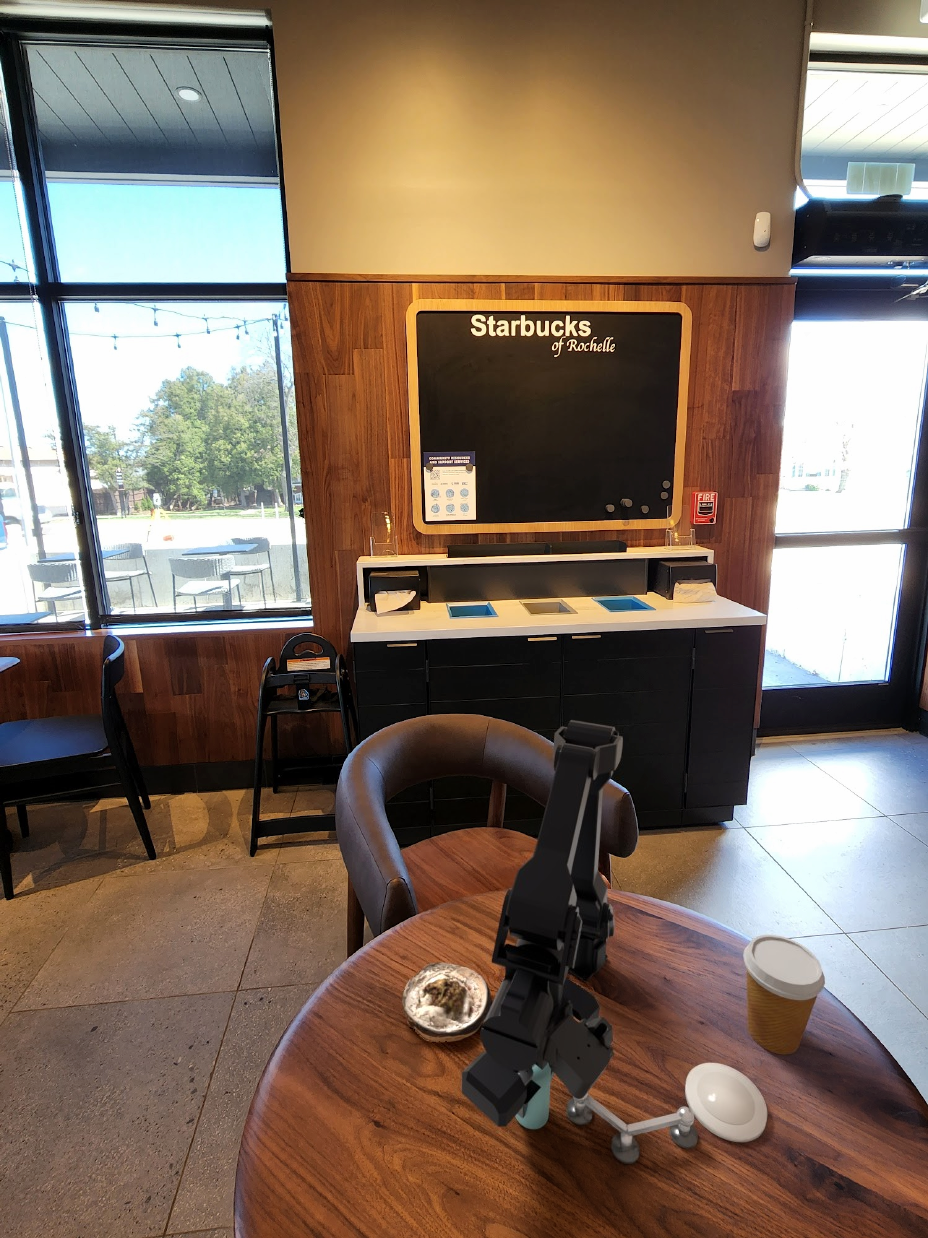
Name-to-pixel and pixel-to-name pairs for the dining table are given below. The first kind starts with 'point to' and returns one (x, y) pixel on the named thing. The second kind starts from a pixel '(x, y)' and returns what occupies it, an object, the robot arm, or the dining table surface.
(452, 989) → the sushi roll
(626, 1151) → the railing
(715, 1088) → the saucer
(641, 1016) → the dining table surface
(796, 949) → the disposable coffee cup
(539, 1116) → the peg
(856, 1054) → the dining table surface
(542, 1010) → the robot arm
